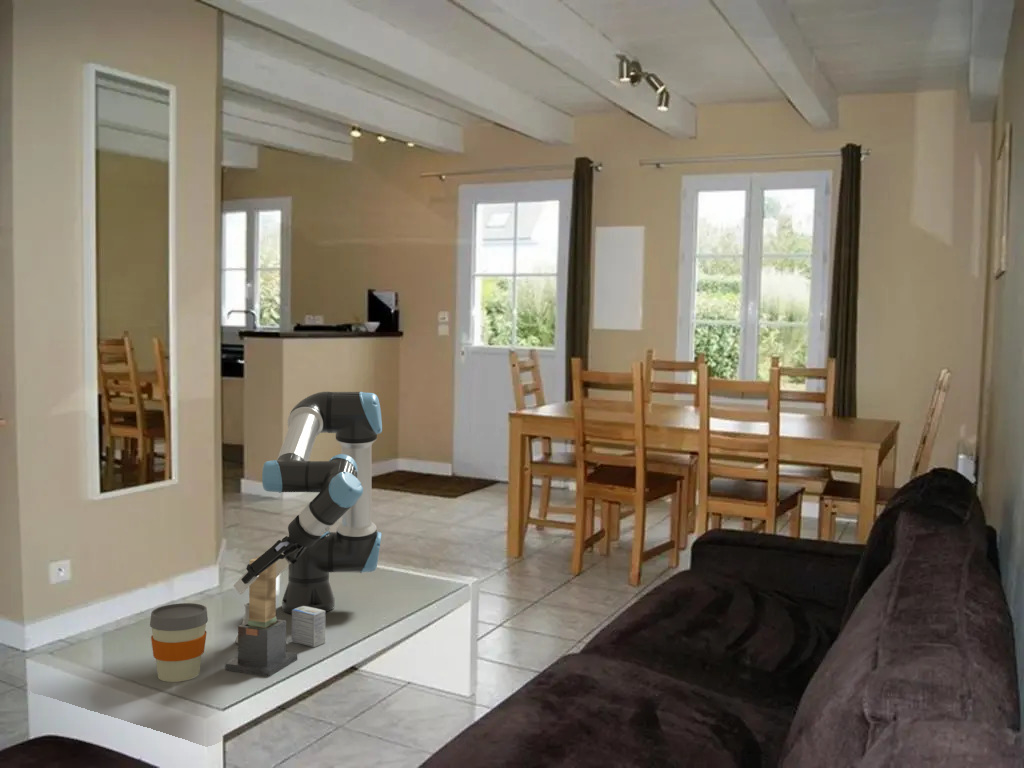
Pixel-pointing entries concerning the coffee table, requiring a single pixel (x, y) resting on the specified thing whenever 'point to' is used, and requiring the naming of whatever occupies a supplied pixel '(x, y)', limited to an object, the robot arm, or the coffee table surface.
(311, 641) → the medicine box
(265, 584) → the oak block
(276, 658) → the metal stand
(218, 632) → the coffee table surface
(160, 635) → the reusable coffee cup
